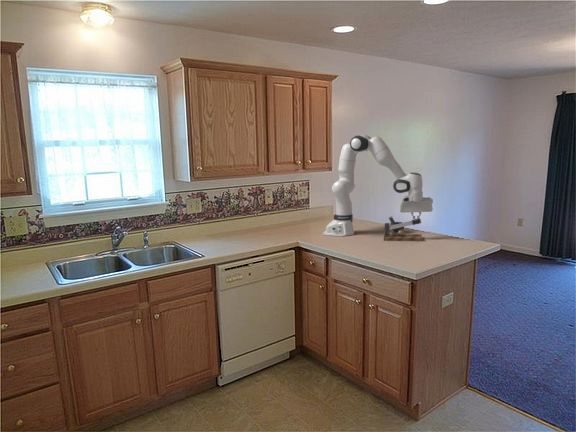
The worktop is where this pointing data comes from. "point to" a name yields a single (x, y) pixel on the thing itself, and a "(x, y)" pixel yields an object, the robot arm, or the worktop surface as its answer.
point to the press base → (400, 238)
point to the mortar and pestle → (395, 224)
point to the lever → (405, 224)
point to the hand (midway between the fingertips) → (416, 218)
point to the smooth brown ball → (401, 232)
